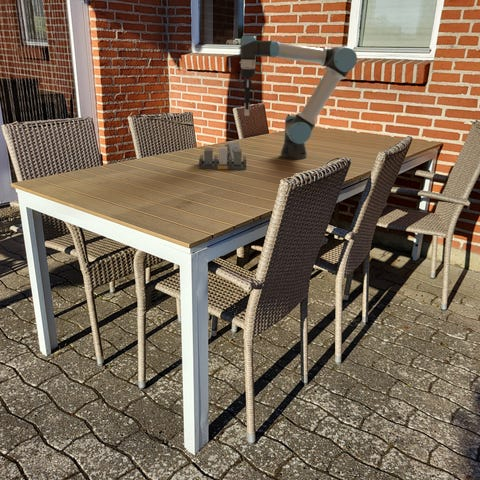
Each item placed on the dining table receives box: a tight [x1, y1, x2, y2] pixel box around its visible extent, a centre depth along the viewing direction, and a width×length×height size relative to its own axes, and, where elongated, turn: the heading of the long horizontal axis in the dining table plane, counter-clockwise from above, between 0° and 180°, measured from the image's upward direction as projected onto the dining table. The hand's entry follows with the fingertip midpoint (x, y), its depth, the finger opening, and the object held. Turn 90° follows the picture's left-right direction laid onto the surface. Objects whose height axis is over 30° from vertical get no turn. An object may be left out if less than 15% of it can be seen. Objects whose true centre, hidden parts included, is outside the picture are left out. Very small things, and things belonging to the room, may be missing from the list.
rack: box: [198, 147, 247, 171], centre depth 247 cm, size 24×14×9 cm, turn 90°
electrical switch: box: [224, 141, 241, 161], centre depth 267 cm, size 9×5×9 cm, turn 141°
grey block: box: [218, 145, 228, 166], centre depth 246 cm, size 4×8×9 cm, turn 0°
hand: (246, 115), depth 253 cm, fingers closed
